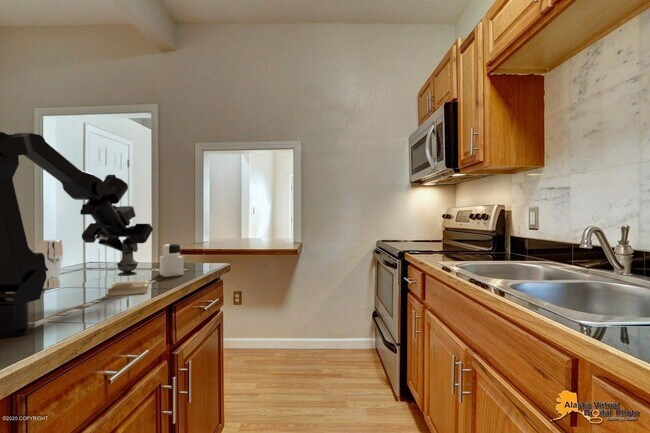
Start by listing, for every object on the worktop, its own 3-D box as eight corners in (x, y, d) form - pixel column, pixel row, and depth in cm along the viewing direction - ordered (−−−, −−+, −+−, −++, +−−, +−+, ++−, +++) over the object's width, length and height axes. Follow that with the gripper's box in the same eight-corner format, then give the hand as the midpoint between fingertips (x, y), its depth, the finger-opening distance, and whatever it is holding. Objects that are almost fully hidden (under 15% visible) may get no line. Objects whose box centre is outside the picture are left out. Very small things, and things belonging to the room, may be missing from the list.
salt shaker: (122, 276, 99) (123, 236, 99) (112, 274, 102) (112, 235, 102) (142, 274, 104) (142, 235, 104) (131, 272, 107) (131, 234, 107)
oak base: (147, 292, 101) (147, 285, 101) (108, 296, 97) (108, 288, 97) (148, 286, 110) (148, 279, 110) (113, 288, 106) (113, 282, 106)
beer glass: (30, 288, 106) (30, 241, 106) (56, 284, 112) (56, 239, 112) (40, 290, 103) (41, 242, 103) (66, 286, 109) (67, 240, 109)
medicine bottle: (178, 272, 136) (178, 243, 136) (183, 275, 130) (183, 244, 130) (159, 274, 131) (159, 244, 131) (164, 277, 126) (164, 245, 126)
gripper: (149, 196, 99) (169, 232, 109) (89, 196, 100) (114, 231, 111) (132, 223, 91) (155, 259, 102) (67, 222, 92) (96, 258, 103)
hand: (130, 250), depth 104 cm, fingers closed on salt shaker, 4 cm apart
